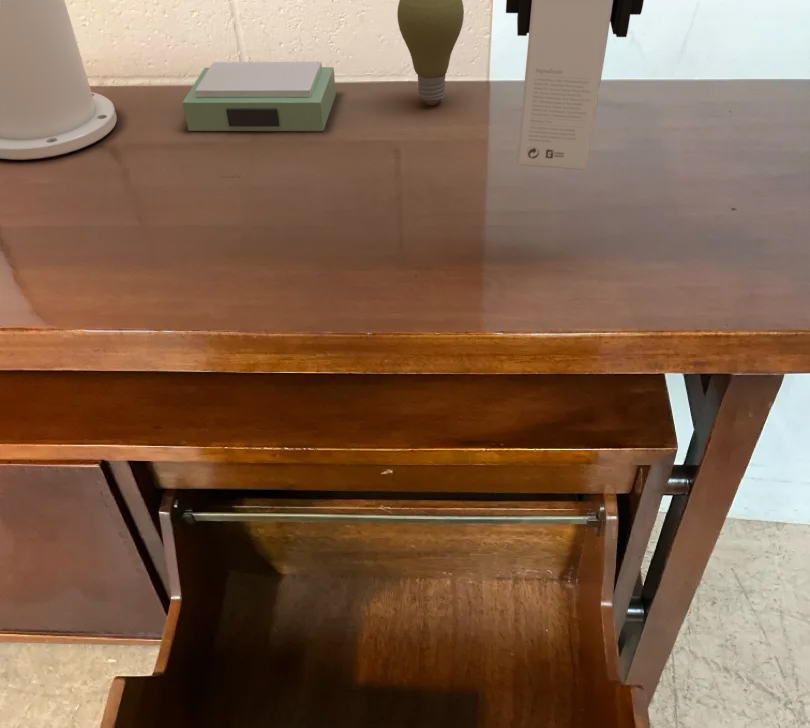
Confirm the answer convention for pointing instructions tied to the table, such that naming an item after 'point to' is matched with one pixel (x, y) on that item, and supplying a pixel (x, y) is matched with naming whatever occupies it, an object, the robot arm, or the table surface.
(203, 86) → the scale
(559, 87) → the cosmetic box
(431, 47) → the light bulb
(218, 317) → the table surface
